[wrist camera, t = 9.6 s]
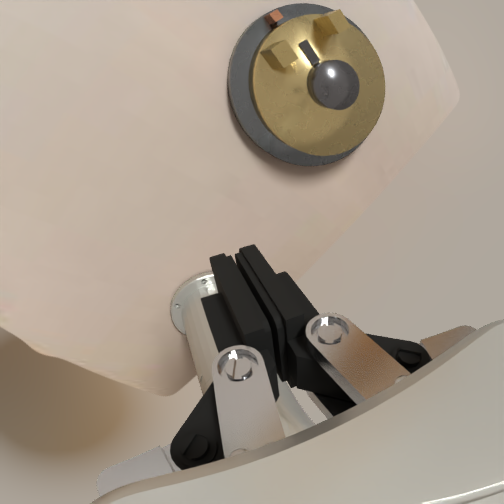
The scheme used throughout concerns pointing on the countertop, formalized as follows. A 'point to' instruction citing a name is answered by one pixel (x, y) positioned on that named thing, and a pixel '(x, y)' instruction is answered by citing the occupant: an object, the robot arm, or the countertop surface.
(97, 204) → the countertop surface
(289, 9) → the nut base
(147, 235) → the countertop surface
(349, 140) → the lugged brass disc
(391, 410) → the robot arm
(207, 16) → the countertop surface
